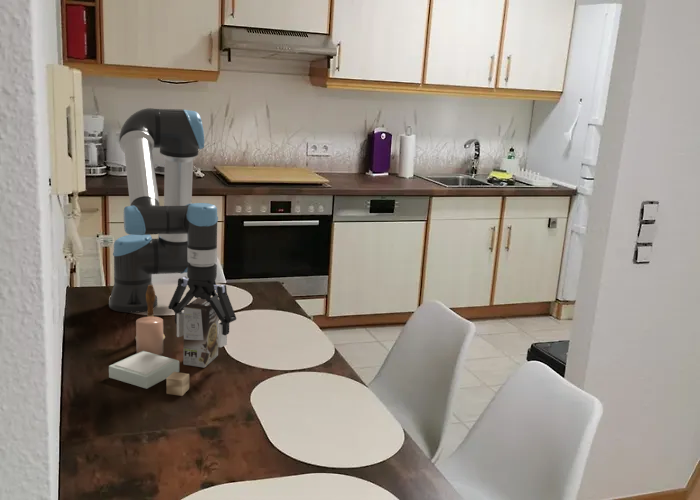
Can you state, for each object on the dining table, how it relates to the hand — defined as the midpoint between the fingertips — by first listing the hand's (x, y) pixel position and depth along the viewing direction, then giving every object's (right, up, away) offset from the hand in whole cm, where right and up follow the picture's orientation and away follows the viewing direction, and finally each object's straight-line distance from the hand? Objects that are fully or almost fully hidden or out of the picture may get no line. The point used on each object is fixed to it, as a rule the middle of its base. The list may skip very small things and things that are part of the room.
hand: (201, 340), depth 178 cm
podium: (-12, -7, -9) cm, 17 cm away
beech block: (-2, -10, -17) cm, 20 cm away
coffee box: (0, -6, +2) cm, 6 cm away
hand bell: (-18, -1, +15) cm, 24 cm away
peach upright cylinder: (-15, -4, +5) cm, 16 cm away
